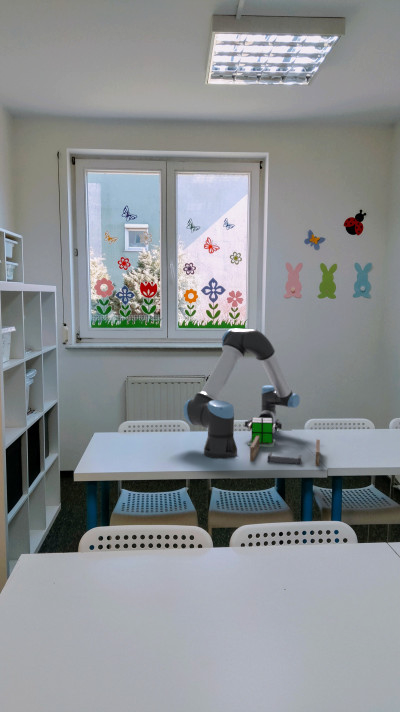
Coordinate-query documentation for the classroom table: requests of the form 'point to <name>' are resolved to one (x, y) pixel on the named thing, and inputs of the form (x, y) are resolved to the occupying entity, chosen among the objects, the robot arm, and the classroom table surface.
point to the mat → (263, 443)
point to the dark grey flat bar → (284, 459)
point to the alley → (255, 448)
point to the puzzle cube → (262, 429)
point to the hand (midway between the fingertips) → (261, 429)
